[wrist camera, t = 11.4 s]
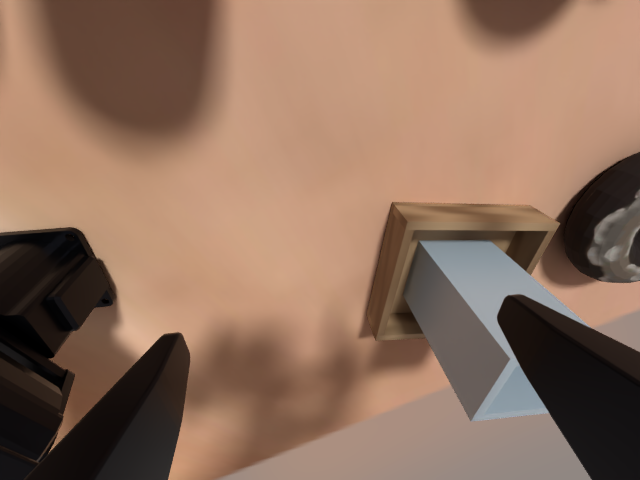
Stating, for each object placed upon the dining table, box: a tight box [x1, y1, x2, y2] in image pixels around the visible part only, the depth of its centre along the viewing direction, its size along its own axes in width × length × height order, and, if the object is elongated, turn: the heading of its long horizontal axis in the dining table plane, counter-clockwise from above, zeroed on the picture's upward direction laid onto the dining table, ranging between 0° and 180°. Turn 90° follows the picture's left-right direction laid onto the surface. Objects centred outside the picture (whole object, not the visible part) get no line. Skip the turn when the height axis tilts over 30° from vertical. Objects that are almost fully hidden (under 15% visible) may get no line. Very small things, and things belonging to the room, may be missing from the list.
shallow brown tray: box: [367, 202, 560, 341], centre depth 24 cm, size 11×11×3 cm
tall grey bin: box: [403, 240, 591, 421], centre depth 20 cm, size 6×6×10 cm
